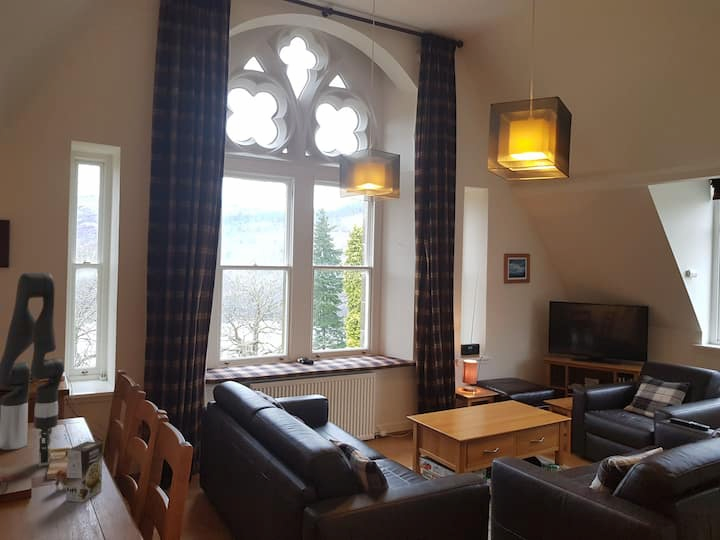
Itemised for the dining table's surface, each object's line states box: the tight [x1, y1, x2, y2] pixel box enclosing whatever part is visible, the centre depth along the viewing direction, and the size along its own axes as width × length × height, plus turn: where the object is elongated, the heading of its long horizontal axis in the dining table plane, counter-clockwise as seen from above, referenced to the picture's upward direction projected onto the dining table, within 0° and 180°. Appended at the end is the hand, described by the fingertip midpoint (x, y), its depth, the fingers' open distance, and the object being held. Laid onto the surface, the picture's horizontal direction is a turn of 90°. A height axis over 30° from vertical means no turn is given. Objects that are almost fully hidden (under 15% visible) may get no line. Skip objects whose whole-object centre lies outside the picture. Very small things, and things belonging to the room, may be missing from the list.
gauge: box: [38, 444, 71, 467], centre depth 202 cm, size 4×10×6 cm, turn 114°
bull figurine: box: [54, 467, 67, 492], centre depth 183 cm, size 4×13×8 cm, turn 161°
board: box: [46, 452, 68, 480], centre depth 199 cm, size 24×6×2 cm, turn 24°
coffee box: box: [65, 441, 104, 503], centre depth 175 cm, size 9×6×16 cm
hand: (44, 460), depth 201 cm, fingers closed on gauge, 4 cm apart
